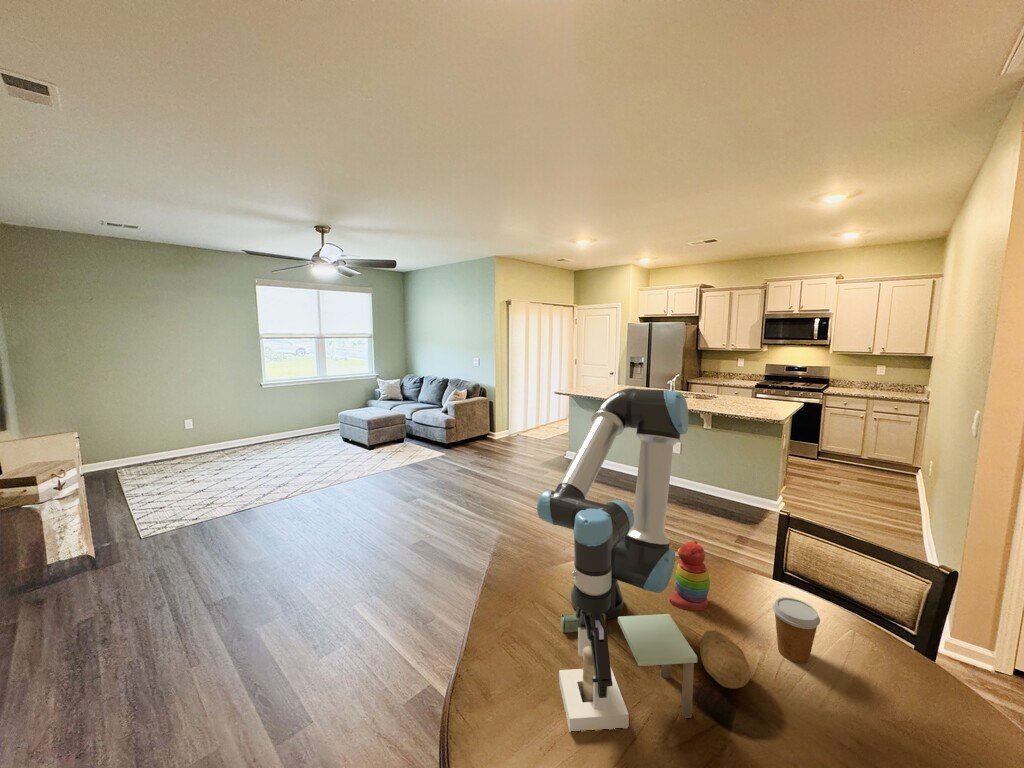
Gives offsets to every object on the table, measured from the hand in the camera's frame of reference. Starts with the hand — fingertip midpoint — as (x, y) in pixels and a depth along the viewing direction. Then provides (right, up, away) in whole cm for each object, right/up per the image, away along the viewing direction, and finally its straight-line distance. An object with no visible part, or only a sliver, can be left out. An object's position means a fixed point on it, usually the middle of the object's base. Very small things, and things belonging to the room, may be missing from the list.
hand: (591, 679), depth 87 cm
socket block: (0, -6, +1) cm, 6 cm away
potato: (+32, -5, +7) cm, 33 cm away
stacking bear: (+36, -2, +35) cm, 50 cm away
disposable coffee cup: (+52, -4, +14) cm, 54 cm away
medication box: (+2, -4, +24) cm, 24 cm away
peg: (0, -6, +1) cm, 6 cm away
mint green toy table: (+14, -5, +2) cm, 15 cm away
